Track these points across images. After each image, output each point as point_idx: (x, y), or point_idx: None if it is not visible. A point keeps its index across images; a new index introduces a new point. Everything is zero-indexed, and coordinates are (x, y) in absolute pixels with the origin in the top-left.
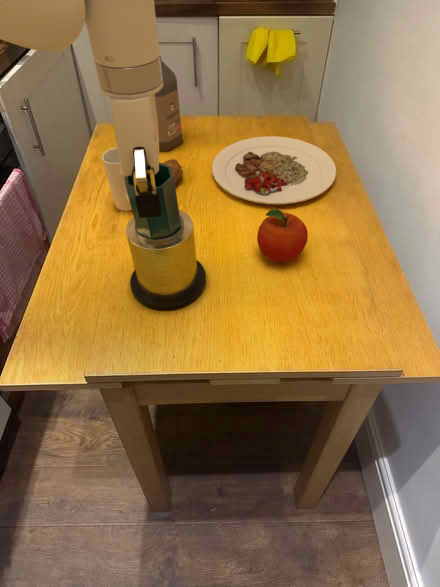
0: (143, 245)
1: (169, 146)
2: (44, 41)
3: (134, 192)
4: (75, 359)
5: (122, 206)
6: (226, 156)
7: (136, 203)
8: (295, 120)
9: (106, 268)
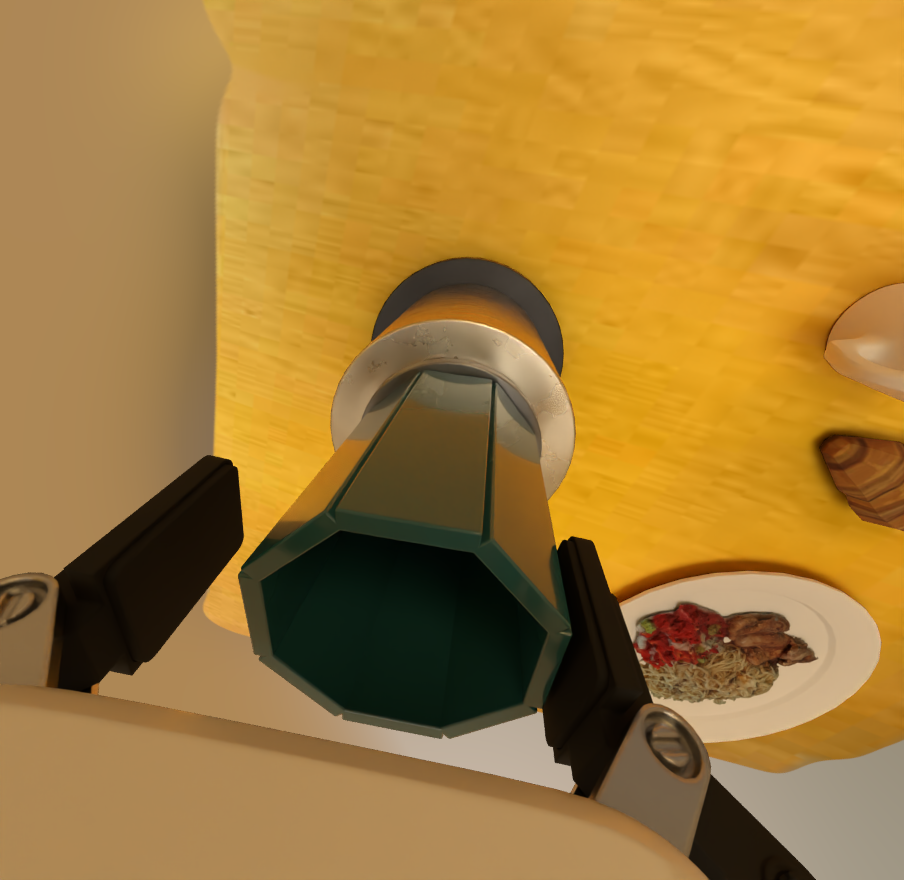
0: (363, 368)
1: None
2: None
3: (86, 573)
4: (262, 26)
5: (866, 308)
6: (843, 621)
7: (138, 511)
8: (850, 752)
9: (597, 191)
